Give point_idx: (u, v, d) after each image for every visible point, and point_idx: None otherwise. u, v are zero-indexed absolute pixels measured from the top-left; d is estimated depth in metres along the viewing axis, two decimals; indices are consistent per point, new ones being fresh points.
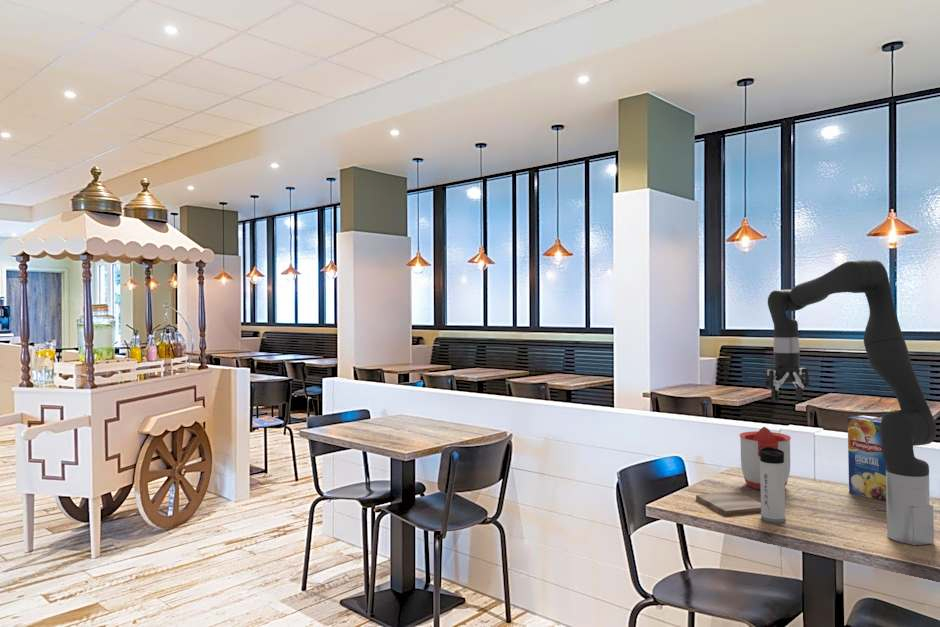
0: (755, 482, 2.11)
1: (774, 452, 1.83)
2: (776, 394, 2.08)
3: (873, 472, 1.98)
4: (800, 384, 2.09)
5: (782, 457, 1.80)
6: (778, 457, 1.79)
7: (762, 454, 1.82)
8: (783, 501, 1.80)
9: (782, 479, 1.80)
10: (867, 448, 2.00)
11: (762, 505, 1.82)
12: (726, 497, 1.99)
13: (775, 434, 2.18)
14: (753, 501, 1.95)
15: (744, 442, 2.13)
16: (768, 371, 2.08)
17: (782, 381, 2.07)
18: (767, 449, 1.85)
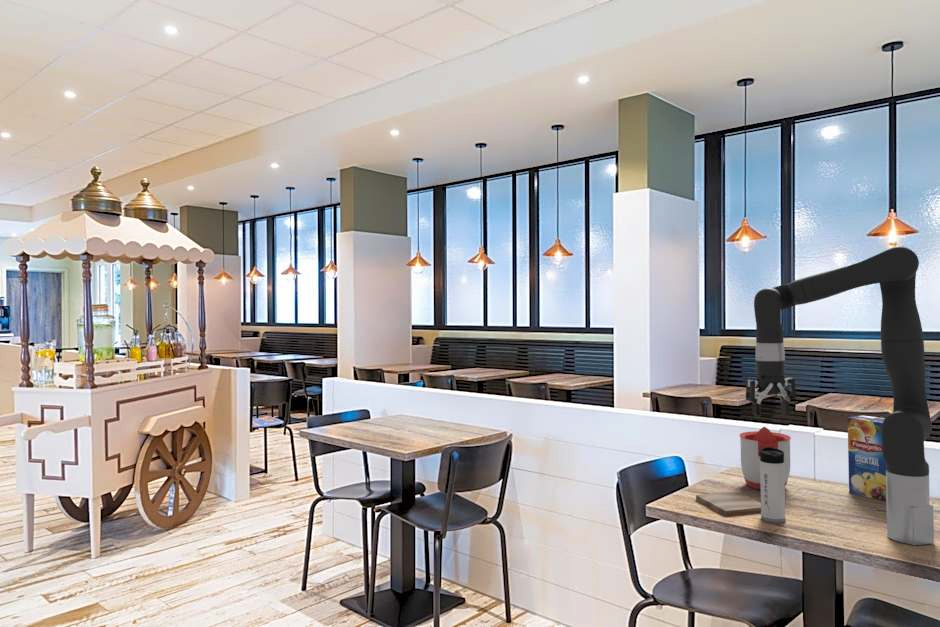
0: (755, 482, 2.11)
1: (774, 452, 1.83)
2: (758, 408, 1.81)
3: (873, 472, 1.98)
4: (786, 397, 1.82)
5: (782, 457, 1.80)
6: (778, 457, 1.79)
7: (762, 454, 1.82)
8: (783, 501, 1.80)
9: (782, 479, 1.80)
10: (867, 448, 2.00)
11: (762, 505, 1.82)
12: (726, 497, 1.99)
13: (775, 434, 2.18)
14: (753, 501, 1.95)
15: (744, 442, 2.13)
16: (749, 382, 1.81)
17: (765, 393, 1.80)
18: (767, 449, 1.85)
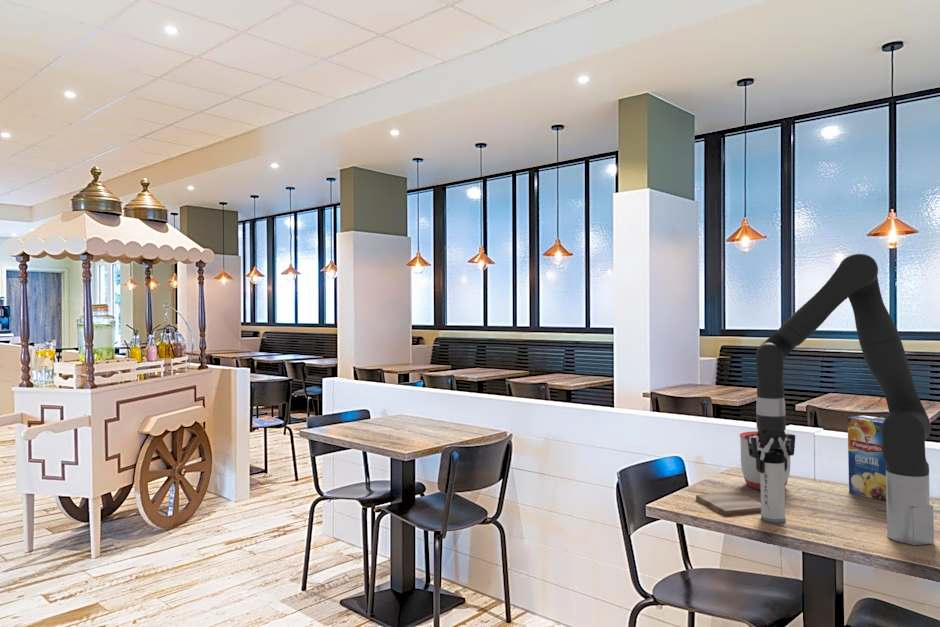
0: (755, 482, 2.11)
1: (774, 452, 1.83)
2: (761, 464, 1.81)
3: (873, 472, 1.98)
4: (784, 452, 1.82)
5: (782, 457, 1.80)
6: (778, 457, 1.79)
7: None
8: (783, 501, 1.80)
9: (782, 479, 1.80)
10: (867, 448, 2.00)
11: (762, 505, 1.82)
12: (726, 497, 1.99)
13: None
14: (753, 501, 1.95)
15: (744, 442, 2.13)
16: (750, 439, 1.81)
17: (767, 449, 1.80)
18: None
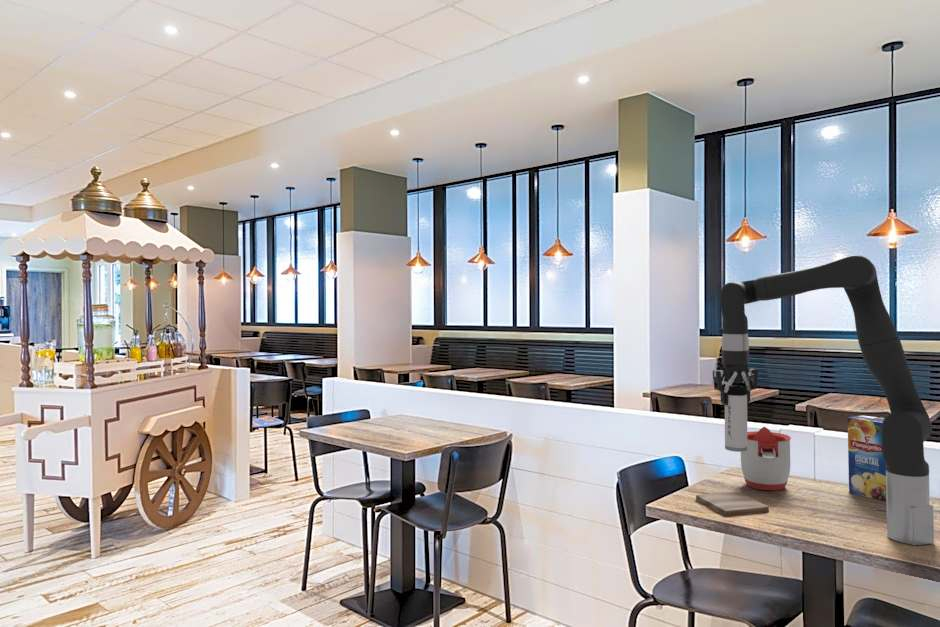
0: (755, 482, 2.11)
1: (738, 386, 1.93)
2: (725, 397, 1.92)
3: (873, 472, 1.98)
4: (747, 386, 1.93)
5: (745, 390, 1.90)
6: (741, 389, 1.90)
7: None
8: (745, 431, 1.91)
9: (744, 410, 1.90)
10: (867, 448, 2.00)
11: (726, 435, 1.93)
12: (726, 497, 1.99)
13: (775, 434, 2.18)
14: (753, 501, 1.95)
15: None
16: (715, 372, 1.92)
17: (731, 382, 1.91)
18: (732, 383, 1.95)
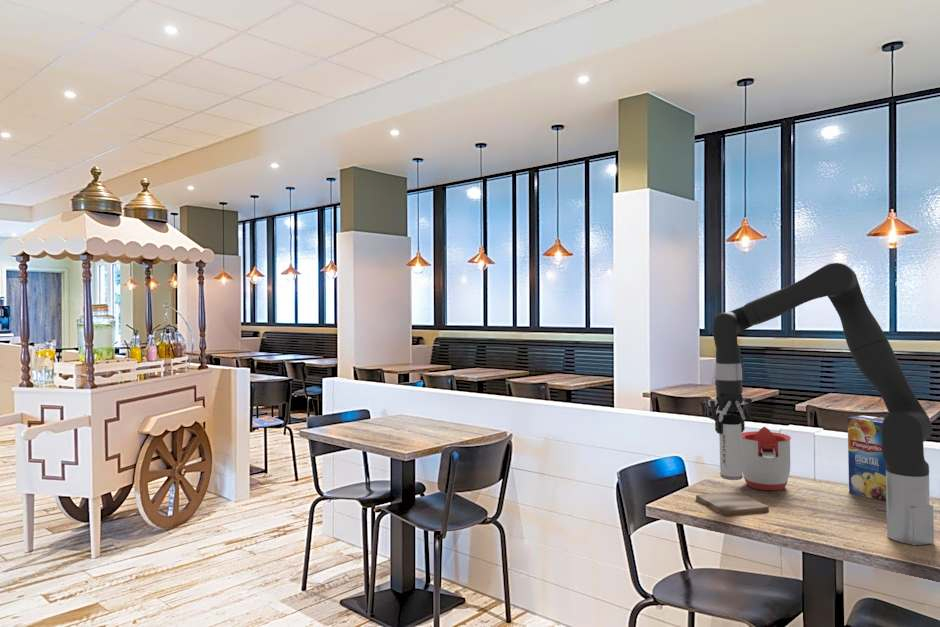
0: (755, 482, 2.11)
1: (732, 414, 1.95)
2: (720, 426, 1.94)
3: (873, 472, 1.98)
4: (741, 415, 1.95)
5: (739, 418, 1.93)
6: (735, 418, 1.92)
7: None
8: (740, 460, 1.93)
9: (739, 439, 1.93)
10: (867, 448, 2.00)
11: (721, 464, 1.95)
12: (726, 497, 1.99)
13: (775, 434, 2.18)
14: (753, 501, 1.95)
15: (744, 442, 2.13)
16: (709, 402, 1.94)
17: (725, 411, 1.93)
18: None
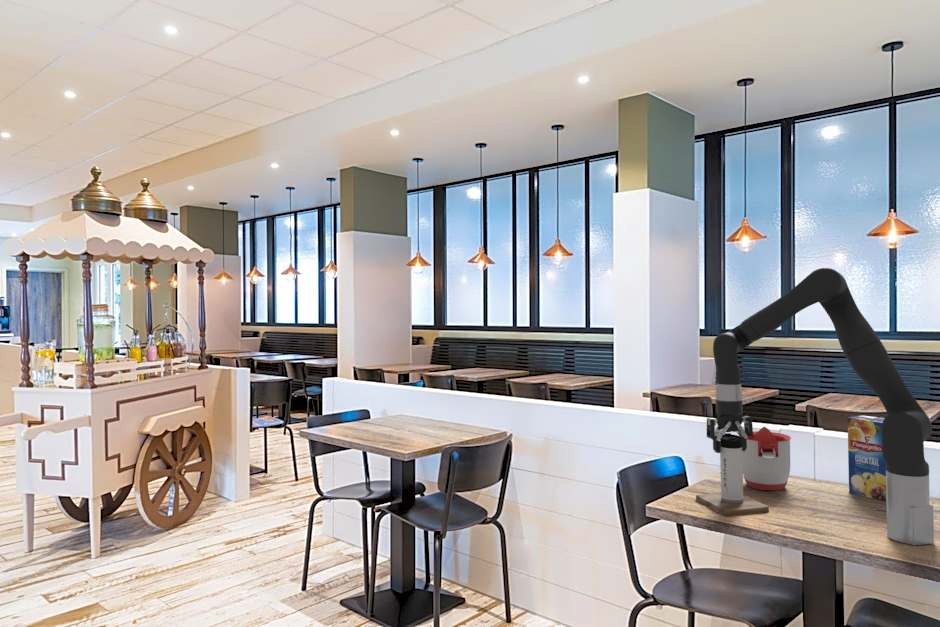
0: (755, 482, 2.11)
1: (733, 438, 1.95)
2: (718, 445, 1.94)
3: (873, 472, 1.98)
4: (743, 434, 1.95)
5: (740, 442, 1.93)
6: (736, 442, 1.92)
7: (721, 440, 1.95)
8: (741, 483, 1.93)
9: (740, 463, 1.93)
10: (867, 448, 2.00)
11: (722, 487, 1.95)
12: None
13: (775, 434, 2.18)
14: (753, 501, 1.95)
15: None
16: (709, 420, 1.94)
17: (724, 431, 1.93)
18: (727, 435, 1.98)
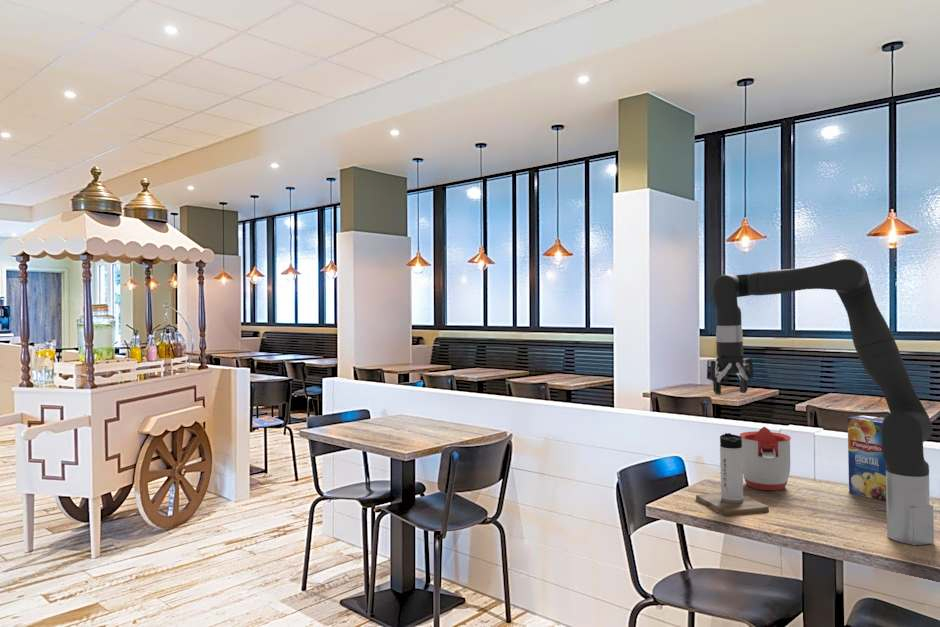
0: (755, 482, 2.11)
1: (733, 438, 1.95)
2: (718, 386, 1.94)
3: (873, 472, 1.98)
4: (744, 376, 1.95)
5: (740, 442, 1.93)
6: (736, 442, 1.92)
7: (721, 440, 1.95)
8: (741, 483, 1.93)
9: (740, 463, 1.93)
10: (867, 448, 2.00)
11: (722, 487, 1.95)
12: None
13: (775, 434, 2.18)
14: (753, 501, 1.95)
15: (744, 442, 2.13)
16: (709, 362, 1.94)
17: (724, 372, 1.94)
18: (727, 435, 1.98)
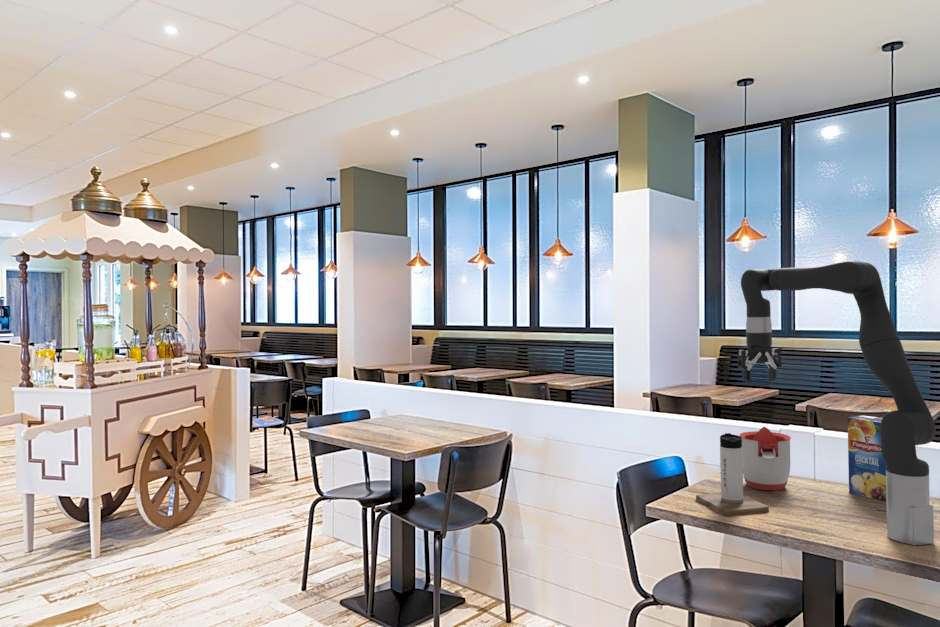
0: (755, 482, 2.11)
1: (733, 438, 1.95)
2: (748, 374, 2.06)
3: (873, 472, 1.98)
4: (772, 364, 2.07)
5: (740, 442, 1.93)
6: (736, 442, 1.92)
7: (721, 440, 1.95)
8: (741, 483, 1.93)
9: (740, 463, 1.93)
10: (867, 448, 2.00)
11: (722, 487, 1.95)
12: None
13: (775, 434, 2.18)
14: (753, 501, 1.95)
15: (744, 442, 2.13)
16: (740, 351, 2.06)
17: (754, 361, 2.05)
18: (727, 435, 1.98)
